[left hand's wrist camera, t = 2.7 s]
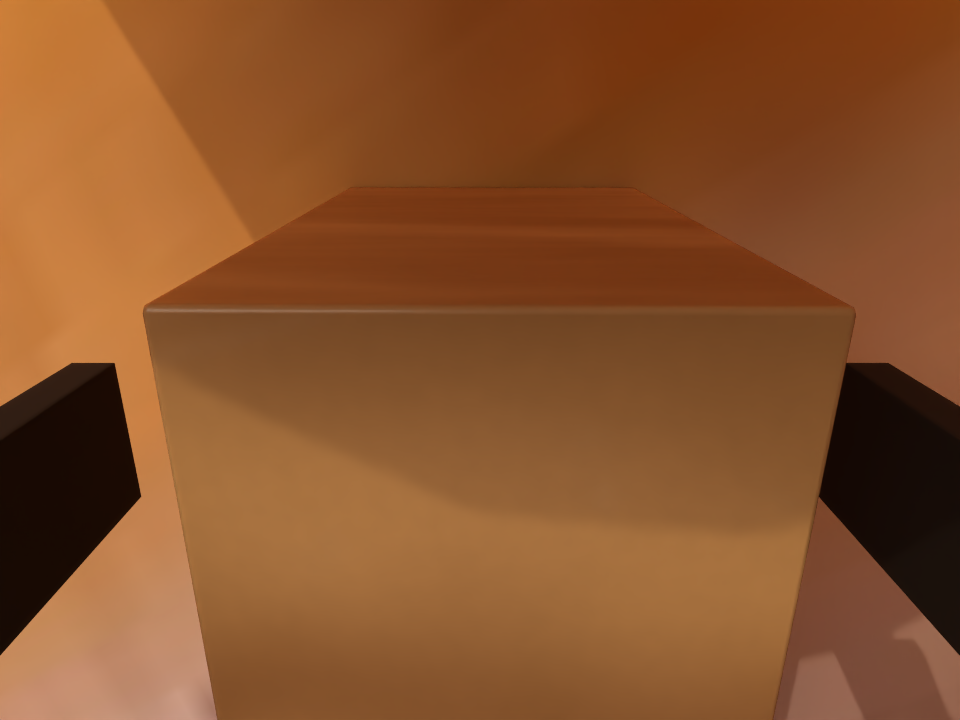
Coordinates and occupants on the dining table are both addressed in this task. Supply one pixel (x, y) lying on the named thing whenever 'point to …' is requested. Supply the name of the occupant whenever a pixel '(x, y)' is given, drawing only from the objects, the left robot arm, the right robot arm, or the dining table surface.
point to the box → (497, 459)
